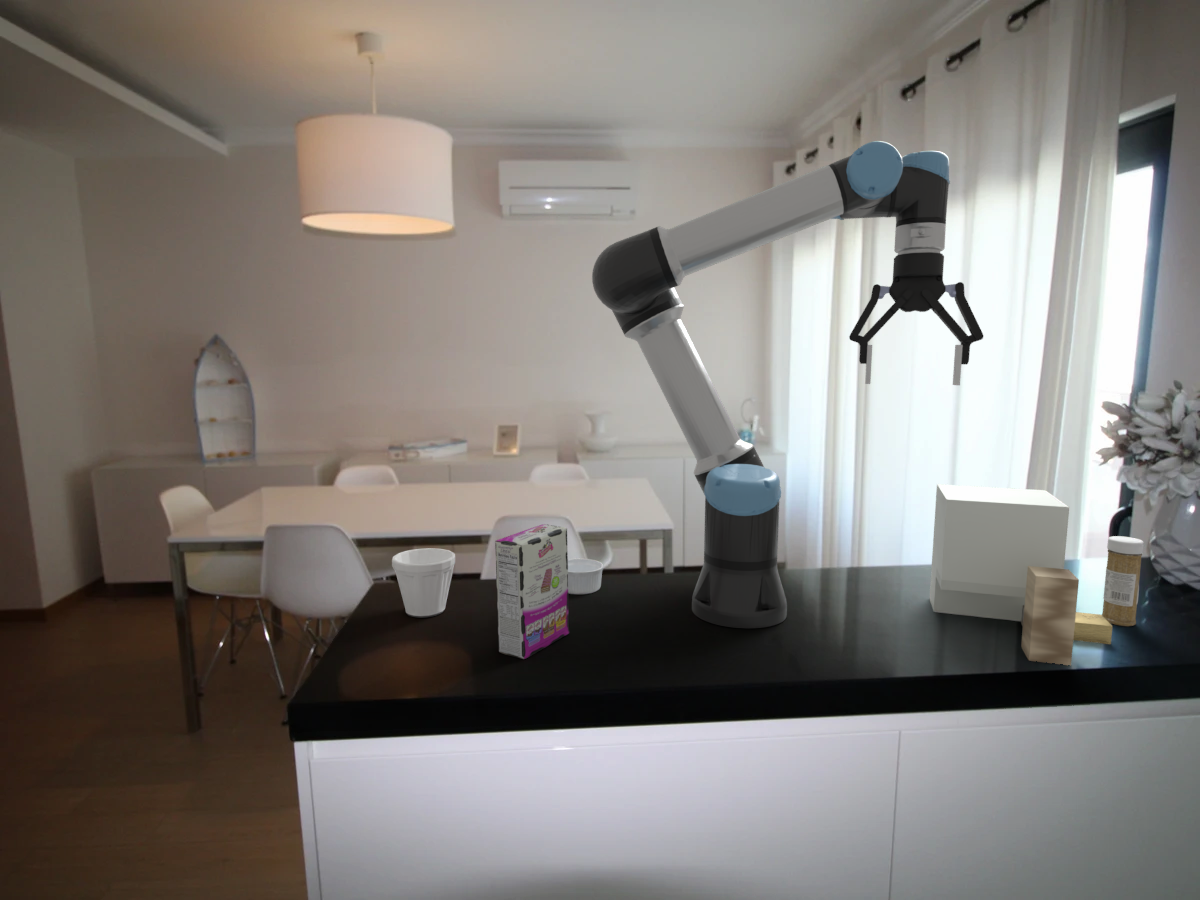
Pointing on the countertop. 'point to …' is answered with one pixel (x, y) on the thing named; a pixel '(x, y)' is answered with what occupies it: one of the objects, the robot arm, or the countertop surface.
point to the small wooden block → (1092, 628)
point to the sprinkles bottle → (1122, 580)
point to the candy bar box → (532, 590)
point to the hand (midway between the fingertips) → (911, 384)
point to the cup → (424, 579)
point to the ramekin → (584, 576)
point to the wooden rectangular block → (1049, 615)
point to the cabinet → (992, 547)
